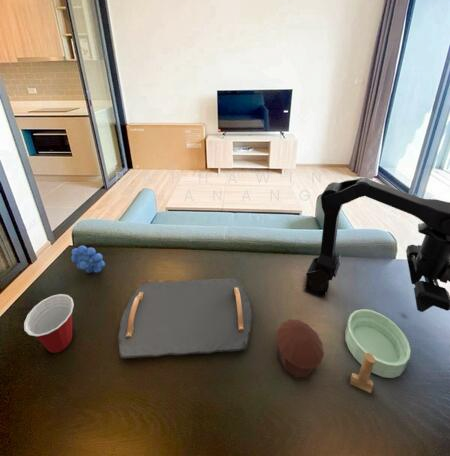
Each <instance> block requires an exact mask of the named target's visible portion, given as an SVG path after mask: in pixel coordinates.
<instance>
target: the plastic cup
mask: <svg viewBox="0 0 450 456" xmlns="http://www.w3.org/2000/svg"><path fill="white" fill-rule="evenodd" d="M73 299H74V298H72V297H71V296H70V295H69V294H65V293H64V294H63V293H59V294H53V295H51V296H49V297H47V298H45V299H42V300H40V302H38V303H37V304H36V305H35V306H33V307H32V309H31V310H30V311H29V312H28V313H27V315H26V318H25V320H24V321H23V329H24V332H26V334H27V335H29V336H32V337H35V338H36V339H37V341H38V342H40V343H41V345H42V346H43V347H44V348H45V349H46V350H47V351H48V352H49V353H52V354H57V353H60V352H61V351H63V350H65V349H66V348H67V347H69V345H70V344H71V342H72V339H73V310H74V305H75V303H74V300H73Z"/></svg>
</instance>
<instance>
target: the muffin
mask: <svg viewBox="0 0 450 456" xmlns="http://www.w3.org/2000/svg"><path fill="white" fill-rule="evenodd" d="M276 344H277V348H278V349H277V350H278V357H279V360H280V362H281V364H282V366H283V368H284V371H286V372H287V373H289V374H290V375H292V376H293V377H294V378H295V379H298V378H299V379H300V378H306V379H307V378H308V377H309V375H310V374H311V372H313V371H314V370H315V369H316V367H317V366H319V365H320V364H321V363H322V360H323V358H324V355H325V352H324V345H323V341H322V340H321V338H320V336H319V335H318V333H317V331H315V330H314V329H313V328H312V327H311V326H310V325H309V324H307V323H306V322H304V321H301V320H300V319H291V318H290V319H288V320H286V321H284V322H281V323H280V325H279V327H278V328H277V329H276Z"/></svg>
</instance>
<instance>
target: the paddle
mask: <svg viewBox="0 0 450 456" xmlns="http://www.w3.org/2000/svg"><path fill="white" fill-rule="evenodd" d="M374 363H375V358H374V356H373V355H372V354H370V353H366V354H365V356H364V359H363V362H362V365H360V368H359V372H358V374H357V373H355V372H351V375H350V379H349V384H350V385H351V386H352V387H353V386H354V387H355V388H358V389H360V390H362V391H365V392H367V393H369V394H372V391H373V388H374V381H373V380H371V379H370V377H371V375H372V374H371V373H372V372H371V371H372V368H373V365H374Z"/></svg>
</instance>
